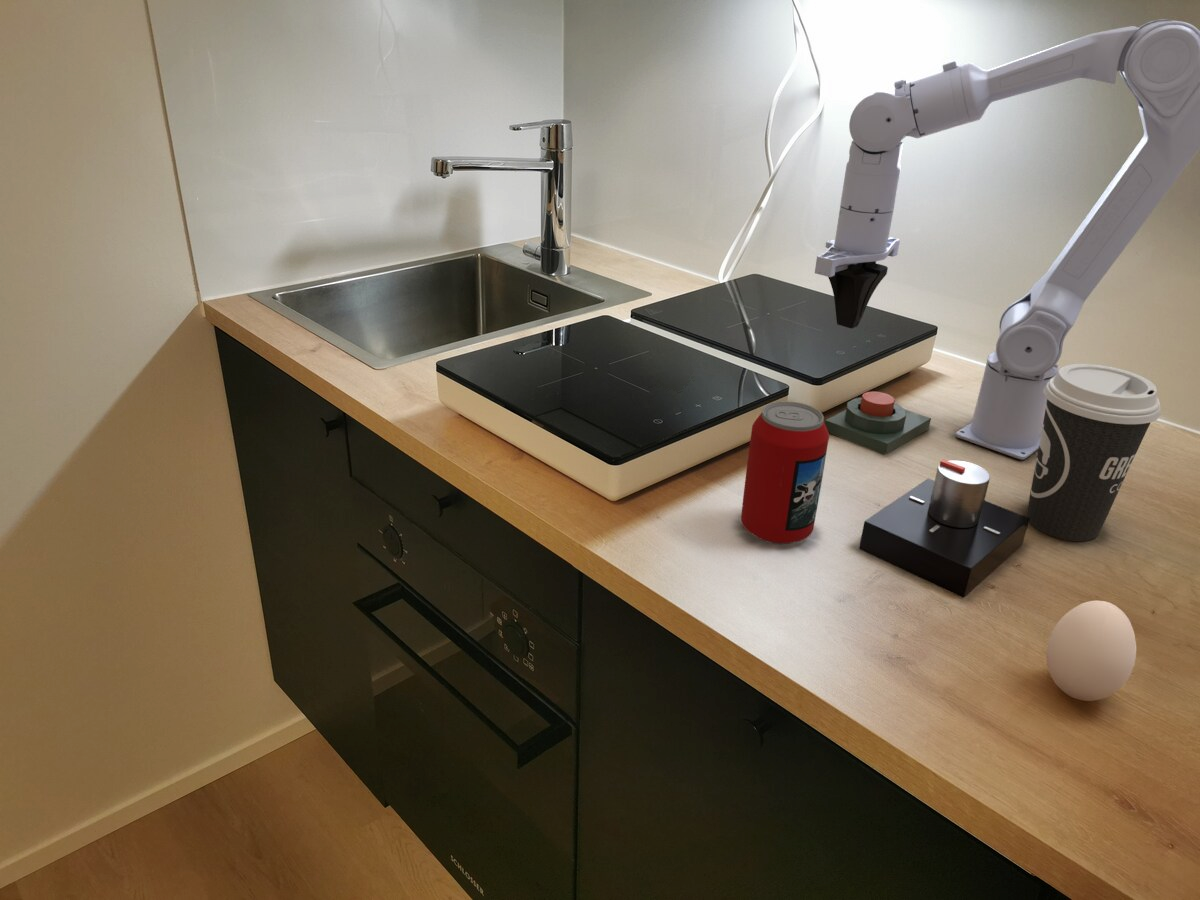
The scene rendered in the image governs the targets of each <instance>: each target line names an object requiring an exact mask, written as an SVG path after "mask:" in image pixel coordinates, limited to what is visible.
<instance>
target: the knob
mask: <svg viewBox="0 0 1200 900" xmlns="http://www.w3.org/2000/svg"><path fill="white" fill-rule="evenodd" d="M936 469H937V470H936V473H935V478H934V481H935V482H934V486H933V490H932V495H931V499H930V503H929V508H928V512H929V515H930V516H931V517H932V518H933V519H935V520H936V521H938V522H940V523H942V524H944V525H948V526H951V527H957V528H969V527H973V526H975V525H976V524H977V523H978V522H979V518H980V515H981V511H982V507H983V503H984V500H985V499H986V495H987V491H988V489H989V488H988V487H989V484H990V480H991V475H990V473H989V472H988V471H987V469H985V468H983V467H981V466H980V465H978V464H975V463H972V462H968V461H963V460H956V459H955V460H952V459H951V460H946V459H942V460H940V462H939V464H938V466H937V468H936Z"/></svg>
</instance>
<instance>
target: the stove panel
mask: <svg viewBox="0 0 1200 900" xmlns="http://www.w3.org/2000/svg"><path fill="white" fill-rule="evenodd" d="M934 482H935V479H934V480H933V479H931V478H927V479H925V480H924V481H922V482H921V483H919V484H918V485H916V486H914V488H912V489H910V490H909V491H907V492H905V493H904V494H903V495H901V496H900V497H898V498H897V499H896V500H894V501H892V502H891V503H889V504H888V505H887V506H884V507H883V508H882V509H880V510H878V511H877V512H876V513H875V514H873V515H871V516H870V517H868V518H867V519H865V520H864V521H863V526H862V531H861V535H860V536H861V537H860V542H859V546H858V550H860V551H862V552H865V553H867V554H868V555H870V556H873V557H875V558H877V559H879V560H880V561H881V560H882V561H884V562H886V563H887V564H890V565H892V566H894V567H896V568H899V569H900V570H903V571H905V572H907V573H909V574H912V575H914V576H916V577H918V578H920V579H921V580H923V581H927V582H929V583H931V584H933V585H935V586H936V587H939V588H941V589H943V590H946V591H947V592H950V593H952V594H954V595H956V596H958V597H961V598H963V599H964V598H965V597H967V596H968V594H970V593H971V592H972V591H973V590H975V588H976V587H977V586H979V585H980V584H981V583H982V582H983V581H984V580H985V579H987V577H989V576H990V575H991V574H992V573H993V572H994V571H995V570H997V569H998V567H1000V566H1001V565H1002V564H1003V563H1004V562H1005V561H1007V560H1008V559H1009V558H1010V557H1012V555H1013V554H1015V552H1016V551H1018V550H1019V549H1020V548H1021V547H1023V544H1024V542H1025V541H1024V540H1025V537H1026V533H1027V530H1028V527H1029V524H1030V522H1029V520H1030V518H1028V517H1027V516H1025V515H1022V514H1020V513H1018V512H1015V511H1012V510H1011V509H1008V508H1005V507H1002V506H1001V505H1000V506H999V505H997V504H995V503H992V502H990V501H987V500H985V499H984V503H983V507H982V511H981V515H980V518H979V522H978V523H977V524H976V525H975V526H973V527H969V528H957V527H951V526H948V525H944V524H942V523H940V522H938V521H936V520H935V519H933V518H932V517H931V516H930V515H929V512H928V508H929V503H930V499H931V495H932V490H933V486H934Z"/></svg>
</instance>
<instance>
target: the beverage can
mask: <svg viewBox="0 0 1200 900" xmlns="http://www.w3.org/2000/svg"><path fill="white" fill-rule="evenodd" d="M829 439H830V433H828V430H827V428H826V425H825V416H824V414H823V413H822V412H821V411H820V410H819V409H818V408H816V407H814V406H811V405H809V404H806V403H801V402H797V401H787V400H785V401H776V402H770V403H768V404H766V405H764V407H763V408H762V410H761V412H760V414H759V415H758V417H757V418H756V419H755V420H754V422H753V423H752V426H751V433H750V440H749V448H748V455H747V464H746V472H745V479H744V486H743V487H744V488H743V496H742V506H741V514H740V515H741V516H740V521H741V525H742V526H743V527H744V529H745V530H746V531H747V532H749V534H751V535H753V536H755V537H756V538H757V539H759V540H761V541H764V542H767V543H770V544H774V545H775V544H776V545H788V544H793V543H797V542H800V541H803V540H805V539H807V538H809V537H810V536H811V535H812V533H813V531H814V527H815V521H816V516H817V512H818V511H817V510H818V506H819V500H820V494H821V490H822V489H821V488H822V482H823V476H824V470H825V465H826V464H825V463H826V458H827V450H828V446H829V444H828V443H829Z"/></svg>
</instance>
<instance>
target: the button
mask: <svg viewBox="0 0 1200 900" xmlns="http://www.w3.org/2000/svg"><path fill="white" fill-rule="evenodd" d="M861 398H862V400H861V405H860V411H862V412H863V413H866V414H868V415H871V416H878V417H887V416H891V415H892V413H893V408H894V403H896V399H895V398H894V396H892V395H891V394H888V393H885V392H881V391H867V392H864V393H863V394H862V395H861Z"/></svg>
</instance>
